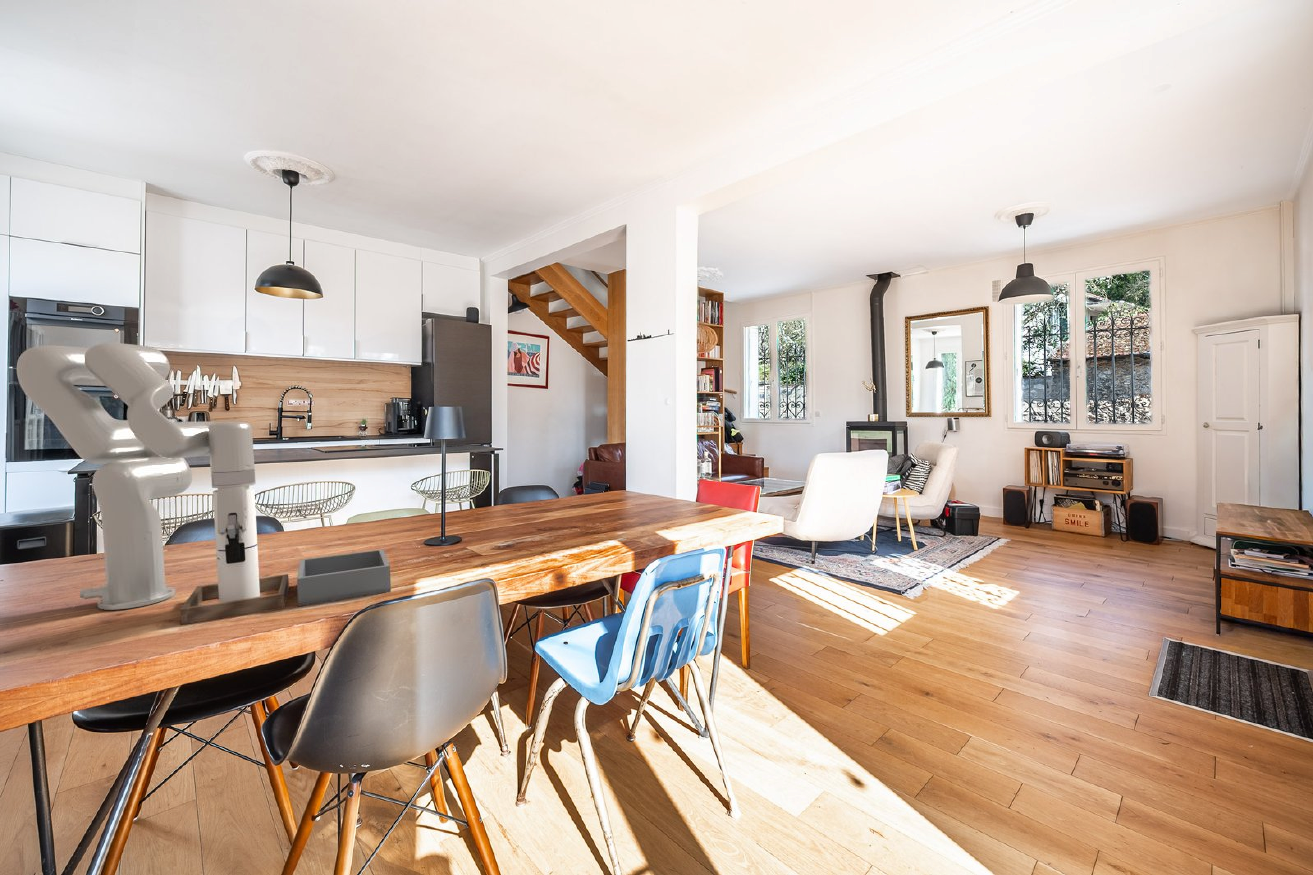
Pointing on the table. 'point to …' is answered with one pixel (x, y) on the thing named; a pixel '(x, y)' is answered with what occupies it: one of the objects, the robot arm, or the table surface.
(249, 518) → the cylindrical container
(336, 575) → the charcoal bin
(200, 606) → the walnut frame
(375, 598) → the table surface
